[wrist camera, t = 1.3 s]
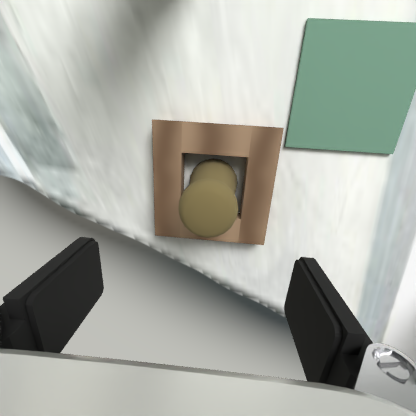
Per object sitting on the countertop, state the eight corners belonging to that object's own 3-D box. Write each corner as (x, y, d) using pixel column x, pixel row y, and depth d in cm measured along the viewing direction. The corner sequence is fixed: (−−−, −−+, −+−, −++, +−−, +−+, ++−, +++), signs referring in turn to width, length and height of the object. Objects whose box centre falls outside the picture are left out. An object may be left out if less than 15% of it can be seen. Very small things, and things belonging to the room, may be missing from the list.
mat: (434, 25, 21) (438, 23, 21) (390, 153, 25) (393, 154, 25) (306, 19, 22) (308, 18, 21) (284, 146, 26) (285, 146, 26)
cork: (238, 158, 27) (246, 179, 17) (236, 205, 29) (242, 249, 19) (188, 158, 27) (166, 178, 17) (190, 204, 29) (172, 247, 19)
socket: (278, 127, 25) (283, 127, 23) (261, 236, 30) (263, 245, 28) (157, 120, 26) (152, 119, 24) (159, 227, 31) (155, 235, 29)
